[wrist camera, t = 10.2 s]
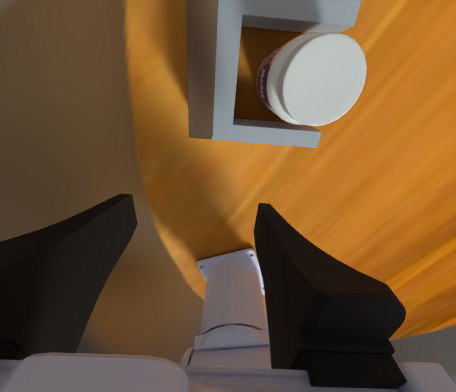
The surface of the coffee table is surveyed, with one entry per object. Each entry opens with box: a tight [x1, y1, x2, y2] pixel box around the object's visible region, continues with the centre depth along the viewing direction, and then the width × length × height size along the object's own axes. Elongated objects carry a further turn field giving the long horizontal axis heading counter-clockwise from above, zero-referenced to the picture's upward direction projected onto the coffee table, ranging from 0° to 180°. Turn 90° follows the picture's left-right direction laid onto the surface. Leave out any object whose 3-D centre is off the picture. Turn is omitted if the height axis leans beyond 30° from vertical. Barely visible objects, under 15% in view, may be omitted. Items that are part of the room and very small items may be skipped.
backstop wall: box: [187, 0, 218, 139], centre depth 14 cm, size 2×9×5 cm, turn 175°
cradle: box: [213, 0, 362, 148], centre depth 16 cm, size 8×9×3 cm
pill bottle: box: [256, 32, 366, 126], centre depth 13 cm, size 5×5×8 cm
